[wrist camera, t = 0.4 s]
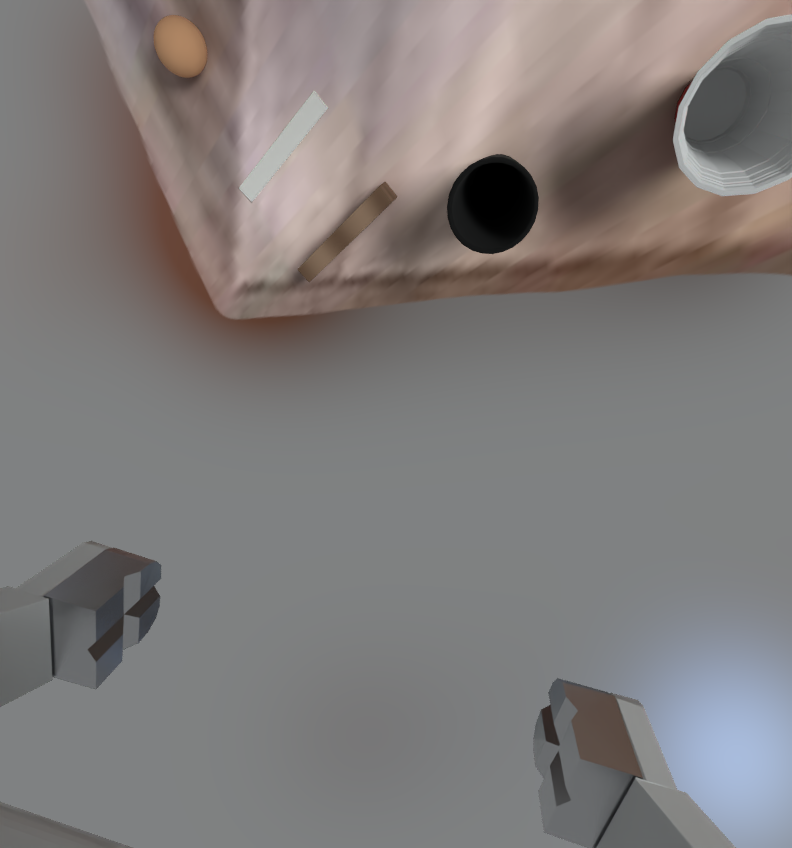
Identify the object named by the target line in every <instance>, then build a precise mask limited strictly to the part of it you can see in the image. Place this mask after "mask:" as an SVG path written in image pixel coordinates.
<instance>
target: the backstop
mask: <svg viewBox="0 0 792 848" xmlns="http://www.w3.org/2000/svg"><path fill="white" fill-rule="evenodd" d="M396 198H397V196H396V194H395V193H394V192H393V191H392V189H391V188H390V187H389V185H388V184H387V183H386V182H384V183H383V184H382V185H380V186H379V187H378V188H377V189H376V190H375V191H374V192H373V193H372V194H371V195H370V196H369V197H368V198H367V199H366V200H365V201H364V202H363V203H362V204H361V205H360V206H359V207H358V208H357V209H356V210H355V211H354V212H353V213H352V214H351V216H350V217H349V218H348V219H347V220H346V221H345V222H344V223H343V224H342V225H341V226H340V227H339V228H338V229H337V230H336V231H335V232H334V233H333V234H332V235H331V236H330V237H329V238H328V239H327V240H326V241H325V242H324V243H323V244H322V245H321V246H320V247H319V248H318V249H317V250H316V251H315V252H314V253H313V254H312V255H311V256H310V257H309V258H308V259H307V260H306V261H305V262H304V263H303V264H302V265H301V266H300V267H299V268H298V269H297V270H298V271H299V272H300V273H301V274H302V275H303V276H304V277H305V278H306V279H307V281H308V282H310V281H311V280H312V279H313V278H314V277H315V276H316V275H317V274H318V273H319V272H320V271H322V270H323V269H324V268H325V267H326V266H327V265H328V264H329V263H330V262H331V261H332V260H333V259H334V258H335V257H336V256H337V255H338V254H339V253H340V252H341V251H342V250H343V249H344V248H345V247H346V246H347V245H348V244H349V243H350V242H351V241H352V240H353V239H354V238H356V237H357V236H358V235H359V234H360V233H361V232H362V231H363V230H364V229H365V228H366V227H367V226H368V225H369V224H370V223H371V222H372V221H373V220H374V219H375V218H376V217H377V216H378V215H379V214H380V213H381V212H382V211H383V210H384V209H385V208H386V207H387V206H388V205H389V204H391V203H392V202H393V201H394V200H395V199H396Z"/></svg>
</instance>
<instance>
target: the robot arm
mask: <svg viewBox="0 0 792 848" xmlns="http://www.w3.org/2000/svg"><path fill="white" fill-rule="evenodd" d="M160 579H161V565H160V564H159V563H158V562H157V561H154V560H151V559H148V558H145V557H142V556H138V555H135V554H132V553H129V552H126V551H123V550H120V549H117V548H111V547H108V546H105V545H102V544H99V543H96V542H93V541H89V542H84V543H82V544H81V545H79V546H77V547H76V548H75V549H73V550H71V551H70V552H69V553H67V554H66V555H64V556H63V557H61V558H60V559H58V560H57V561H55V562H54V563H52V564H51V565H49V566H48V567H46V568H45V569H43V570H42V571H41V572H39V573H38V574H36V575H35V576H33V577H32V578H30V579H29V580H27V581H26V582H24V583H23V584H21V585H20V586H18V587H17V588H12V587H9V586H7V587H4V588H0V707H1V706H3V705H5V704H7V703H9V702H11V701H13V700H15V699H17V698H18V697H20V696H22V695H24V694H26V693H28V692H30V691H32V690H34V689H36V688H38V687H40V686H42V685H44V684H45V683H48V682H50V681H52V678H53V677H54V678H58V679H61V680H65V681H68V682H71V683H75V684H79V685H82V686H86V687H89V688H93V689H97V688H98V687H99V686H100V685H101V684H102V682H103V681H104V680H105V679H106V678H107V677H108V676H109V675H110V674H111V673H112V672H113V670H114V669H115V668H116V667H117V666H118V665H119V664H120V663H121V662H122V656H123V650H124V649H126V648H128V647H131V646H133V645H135V644H138V643H139V642H140V641H141V640H142V638H143V637H144V636H145V635H146V634H147V633H148V631H149V630H150V627H151V626H152V624H153V622H154V621H155V619H156V616H157V613H158V609H159V606H160V595H159V593H158V592H157V590H156V588H155V586H154V585H155V584H156V583H157V582H158V581H159V580H160ZM549 699H550V705H549V706H547V707H545V708H543V709H541V711H540V714H539V716H538V719H537V722H536V726H535V732H534V760H535V766H536V767H537V769H538V770H539V772H540V774H541V775H542V776H543V778H544V780H543V782H542V784H541V786H540V789H539V799H540V807H541V814H542V821H543V828H544V833H547V834H550V835H553V836H555V837H558V838H561V839H564V840H567V841H570V842H573V843H576V844H579V845H581V846H584V847H587V848H736V847H735V846H734V845H733V844H732V843H731V842H730V841H729V840H728V838H727V837H726V836H725V835H724V834H723V833H722V832H721V831H720V830H719V828H718V827H717V826H716V825H715V824H714V823H713V822H712V821H711V820H710V819H709V817H708V816H707V815H706V814H705V813H704V812H703V811H702V810H701V809H700V807H698V805H697V804H696V803H695V802H694V801H693V800H692V799H691V798H690V796H689V795H688V794H687V793H685V792H682V791H679V790H677V788H676V785H675V783H674V780H673V778H672V775H671V773H670V771H669V768H668V766H667V763H666V761H665V758H664V756H663V753H662V751H661V748H660V746H659V743H658V741H657V739H656V736H655V734H654V731H653V729H652V726H651V724H650V721H649V719H648V716H647V714H646V712H645V709H644V707H643V705H642V704H641V703H640V702H639V701H638V700H635V699H632V698H628V697H624V696H621V695H617V694H613V693H608V692H605V691H601V690H598V689H594V688H591V687H587V686H583V685H580V684H577V683H573V682H570V681H566V680H562V679H559V678H557V679H556V680H555V681H554V682H553V684H552V686H551V688H550V690H549ZM0 848H132V847H129V846H126V845H123V844H121V843H118V842H115V841H112V840H109V839H106V838H103V837H100V836H98V835H95V834H92V833H89V832H86V831H83V830H80V829H77V828H74V827H72V826H69V825H66V824H63V823H60V822H57V821H54V820H51V819H49V818H45V817H42V816H40V815H37V814H34V813H31V812H28V811H25V810H23V809H20V808H17V807H14V806H11V805H8V804H5V803H2V802H0Z"/></svg>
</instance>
